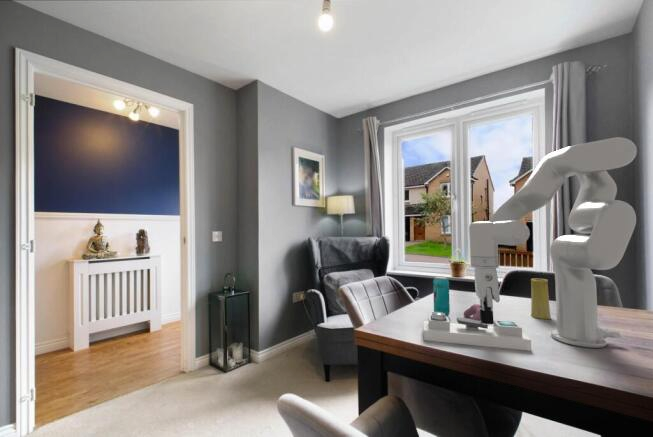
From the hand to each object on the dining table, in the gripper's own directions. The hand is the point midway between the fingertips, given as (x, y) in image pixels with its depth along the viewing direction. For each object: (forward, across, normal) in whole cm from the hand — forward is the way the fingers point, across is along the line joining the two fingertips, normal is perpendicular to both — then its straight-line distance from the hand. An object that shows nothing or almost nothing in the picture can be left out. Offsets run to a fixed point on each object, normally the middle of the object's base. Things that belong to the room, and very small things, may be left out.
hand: (487, 323), depth 89 cm
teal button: (+2, 0, -5) cm, 6 cm away
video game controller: (+6, +22, 0) cm, 22 cm away
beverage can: (+5, +24, +11) cm, 27 cm away
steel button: (0, 0, +14) cm, 14 cm away
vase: (+6, +33, -25) cm, 42 cm away
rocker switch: (0, 0, +4) cm, 4 cm away
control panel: (+5, 0, +4) cm, 7 cm away
